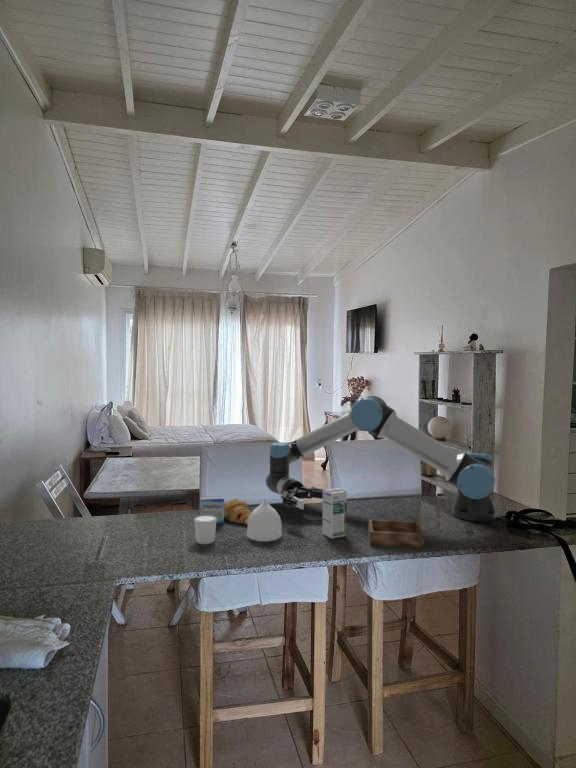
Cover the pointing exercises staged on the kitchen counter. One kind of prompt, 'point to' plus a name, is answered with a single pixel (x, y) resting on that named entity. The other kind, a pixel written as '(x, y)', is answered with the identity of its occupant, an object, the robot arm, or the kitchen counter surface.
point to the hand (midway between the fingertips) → (320, 503)
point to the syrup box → (335, 513)
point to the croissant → (237, 511)
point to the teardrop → (264, 523)
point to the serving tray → (395, 533)
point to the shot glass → (205, 529)
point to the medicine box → (213, 507)
